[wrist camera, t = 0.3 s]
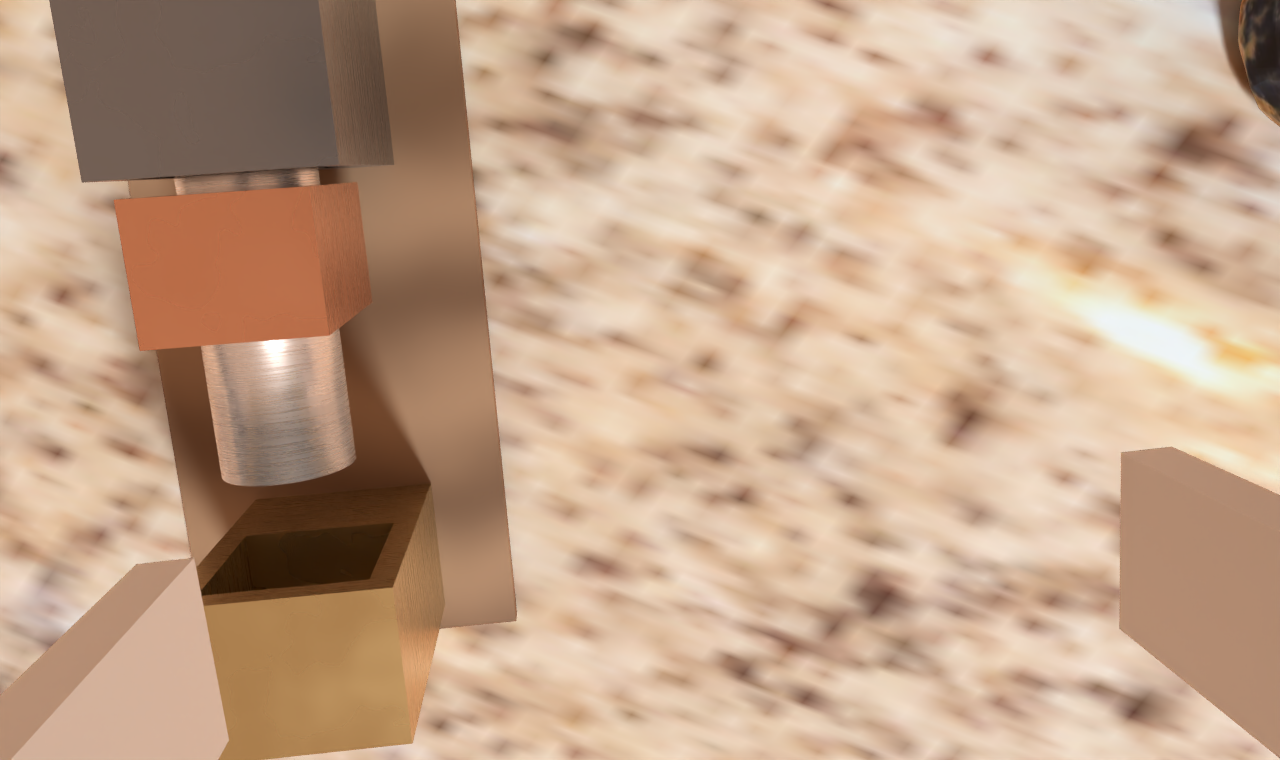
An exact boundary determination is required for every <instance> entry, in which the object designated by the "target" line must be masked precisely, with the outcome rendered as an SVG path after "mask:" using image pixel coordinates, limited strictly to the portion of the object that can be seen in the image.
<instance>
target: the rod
mask: <svg viewBox="0 0 1280 760" xmlns="http://www.w3.org/2000/svg"><path fill="white" fill-rule="evenodd" d="M174 182H175V188H176V195H169V196H156V197H144V198H131V199H119V200H114V204H115V210H116V216H117V221H118V227H119V233H120V239H121V245H122V250H123V256H124V262H125V268H126V274H127V279H128V285H129V291H130V297H131V302H132V308H133V314H134V320H135V326H136V331H137V337H138V343H139V349H140V351H145V350H157V349H170V348H182V347H195V346H201V351H202V357H203V363H204V369H205V376H206V382H207V388H208V394H209V400H210V407H211V413H212V419H213V425H214V432H215V438H216V444H217V450H218V457H219V463H220V469H221V475H222V479H223V481H225V482H227V483H229V484H233V485H239V486H273V485H282V484H289V483H296V482H301V481H306V480H311V479H315V478H319V477H322V476H326V475H329V474H332V473H334V472H337V471H339V470H342V469H344V468H346V467H347V466H349V465H351V464H352V463H353V462H354V461H355V459H356V453H355V445H354V438H353V430H352V422H351V415H350V407H349V400H348V392H347V384H346V377H345V369H344V361H343V354H342V346H341V339H340V331H339V328H340V327H341V326H342V325H344V324H345V323H346V322H348V321H349V320H350V319H351V318H353V317H354V316H355V315H357V314H358V313H359V312H360V311H362V310H363V309H364V308H366V307H367V306H368V305H369V304H371V303H372V296H371V288H370V280H369V271H368V263H367V255H366V247H365V239H364V231H363V223H362V215H361V207H360V199H359V191H358V182H351V183H336V184H322V185H320V178H319V171H318V167H305V168H291V169H276V170H262V171H247V172H233V173H218V174H203V175H189V176H174Z"/></svg>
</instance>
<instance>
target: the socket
mask: <svg viewBox="0 0 1280 760" xmlns="http://www.w3.org/2000/svg"><path fill="white" fill-rule="evenodd" d="M196 570H197V575H198V580H199V586H200V591H201V596H202V601H203V606H204V612H205V617H206V622H207V627H208V633H209V638H210V643H211V648H212V654H213V659H214V664H215V669H216V674H217V680H218V685H219V690H220V695H221V701H222V706H223V711H224V716H225V722H226V727H227V732H228V737H229V741H228V743H227V745H226V747H225V748H224V750H223V752H222V754H221V756H220V757H219V759H218V760H263V759H273V758H282V757H291V756H300V755H310V754H319V753H328V752H337V751H347V750H356V749H365V748H374V747H383V746H393V745H402V744H411V743H413V739H414V735H415V731H416V726H417V722H418V718H419V714H420V709H421V705H422V701H423V697H424V692H425V688H426V684H427V680H428V675H429V671H430V667H431V663H432V658H433V654H434V650H435V646H436V641H437V637H438V633H439V629H440V624H441V620H442V616H443V612H444V608H445V598H444V589H443V581H442V572H441V563H440V555H439V546H438V538H437V529H436V520H435V512H434V503H433V494H432V486H431V483H430V484H419V485H408V486H397V487H386V488H374V489H363V490H352V491H341V492H330V493H319V494H308V495H297V496H286V497H275V498H264V499H256V500H255V501H254V502H253V503H252V504H251V505H250V507H249V508H248V509H247V510H246V511H245V512H244V513H243V515H242V516H241V517H240V518H239V519H238V520H237V521H236V523H235V524H234V525H233V526H232V527H231V528H230V529H229V531H228V532H227V533H226V534H225V535H224V536H223V537H222V539H221V540H220V541H219V542H218V543H217V544H216V545H215V546H214V548H213V549H212V550H211V551H210V552H209V553H208V554H207V556H206V557H205V558H204V559H203V560H202V561H201V562H200V564H199V565H198V566H197V567H196Z"/></svg>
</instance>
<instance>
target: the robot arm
mask: <svg viewBox="0 0 1280 760" xmlns="http://www.w3.org/2000/svg"><path fill="white" fill-rule="evenodd" d="M1119 629H1121V630H1122V631H1123V632H1124V633H1125V634H1127V635H1128V636H1129V637H1130V638H1132V639H1133V640H1134V641H1135V642H1137V643H1138V644H1139V645H1140V646H1142V647H1143V648H1144V649H1145V650H1147V651H1148V652H1149V653H1150V654H1151V655H1153V656H1154V657H1155V658H1156V659H1158V660H1159V661H1160V662H1161V663H1163V664H1164V665H1165V666H1166V667H1168V668H1169V669H1170V670H1171V671H1172V672H1174V673H1175V674H1176V675H1177V676H1179V677H1180V678H1181V679H1182V680H1184V681H1185V682H1186V683H1187V684H1189V685H1190V686H1191V687H1192V688H1194V689H1195V690H1196V691H1197V692H1198V693H1200V694H1201V695H1202V696H1203V697H1205V698H1206V699H1207V700H1208V701H1210V702H1211V703H1212V704H1213V705H1215V706H1216V707H1217V708H1218V709H1219V710H1221V711H1222V712H1223V713H1224V714H1226V715H1227V716H1228V717H1229V718H1231V719H1232V720H1233V721H1234V722H1236V723H1237V724H1238V725H1239V726H1241V727H1242V728H1243V729H1244V730H1245V731H1247V732H1248V733H1249V734H1250V735H1252V736H1253V737H1254V738H1255V739H1257V740H1258V741H1259V742H1260V743H1262V744H1263V745H1264V746H1265V747H1266V748H1268V749H1269V750H1270V751H1271V752H1273V753H1274V754H1275V755H1276V756H1278V757H1279V758H1280V495H1278V494H1276V493H1274V492H1272V491H1269V490H1267V489H1265V488H1263V487H1260V486H1258V485H1256V484H1254V483H1252V482H1249V481H1247V480H1245V479H1243V478H1240V477H1238V476H1236V475H1234V474H1232V473H1229V472H1227V471H1225V470H1223V469H1220V468H1218V467H1216V466H1214V465H1211V464H1209V463H1207V462H1205V461H1203V460H1200V459H1198V458H1196V457H1194V456H1191V455H1189V454H1187V453H1185V452H1182V451H1180V450H1178V449H1176V448H1174V447H1165V448H1156V449H1148V450H1139V451H1130V452H1121V516H1120V621H1119ZM228 741H229V737H228V732H227V727H226V722H225V716H224V711H223V706H222V701H221V695H220V690H219V685H218V680H217V674H216V669H215V664H214V659H213V654H212V648H211V643H210V638H209V633H208V627H207V622H206V617H205V612H204V606H203V601H202V596H201V591H200V586H199V580H198V575H197V570H196V565H195V559H194V558H188V559H179V560H170V561H162V562H153V563H144V564H136V565H135V566H134V567H133V568H132V569H131V570H130V571H129V572H128V573H127V574H126V575H125V576H124V577H123V578H122V579H121V580H120V581H119V582H118V583H117V584H116V585H115V586H114V587H112V588H111V589H110V590H109V591H108V592H107V593H106V594H105V595H104V596H103V597H102V598H101V599H100V600H99V601H98V602H97V603H96V604H95V605H94V606H93V607H92V608H91V609H90V610H89V611H88V612H87V613H85V614H84V615H83V616H82V617H81V618H80V619H79V620H78V621H77V622H76V623H75V624H74V625H73V626H72V627H71V628H70V629H69V630H68V631H67V632H66V633H65V634H64V635H63V636H62V637H61V638H60V639H58V640H57V641H56V642H55V643H54V644H53V645H52V646H51V647H50V648H49V649H48V650H47V651H46V652H45V653H44V654H43V655H42V656H41V657H40V658H39V659H38V660H37V661H36V662H35V663H34V664H33V665H31V666H30V667H29V668H28V669H27V670H26V671H25V672H24V673H23V674H22V675H21V676H20V677H19V678H18V679H17V680H16V681H15V682H14V683H13V684H12V685H11V686H10V687H9V688H8V689H7V690H6V691H4V692H3V693H2V694H1V695H0V760H218V759H219V757H220V756H221V754H222V752H223V750H224V748H225V747H226V745H227V743H228Z"/></svg>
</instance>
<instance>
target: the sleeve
mask: <svg viewBox="0 0 1280 760" xmlns="http://www.w3.org/2000/svg"><path fill="white" fill-rule="evenodd" d="M49 1H50V7H51V12H52V18H53V24H54V29H55V35H56V40H57V46H58V51H59V57H60V63H61V68H62V74H63V79H64V85H65V91H66V96H67V102H68V107H69V113H70V119H71V124H72V130H73V135H74V141H75V147H76V152H77V158H78V163H79V169H80V175H81V180H82V182H107V181H134V180H162V179H174V176H189V175H203V174H218V173H233V172H247V171H262V170H276V169H291V168H305V167H318V170H328V169H342V168H357V167H371V166H386V165H394V157H393V149H392V140H391V131H390V123H389V114H388V106H387V97H386V88H385V80H384V71H383V62H382V54H381V45H380V36H379V28H378V19H377V11H376V2H375V0H49Z"/></svg>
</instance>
